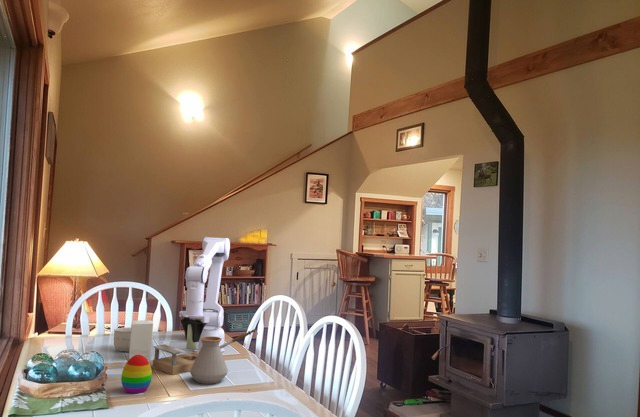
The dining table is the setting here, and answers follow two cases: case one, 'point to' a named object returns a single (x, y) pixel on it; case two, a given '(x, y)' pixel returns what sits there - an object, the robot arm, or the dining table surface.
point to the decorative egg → (136, 374)
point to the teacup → (122, 338)
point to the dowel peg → (190, 339)
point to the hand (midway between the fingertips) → (192, 340)
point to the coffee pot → (212, 360)
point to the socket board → (173, 360)
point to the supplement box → (141, 338)
